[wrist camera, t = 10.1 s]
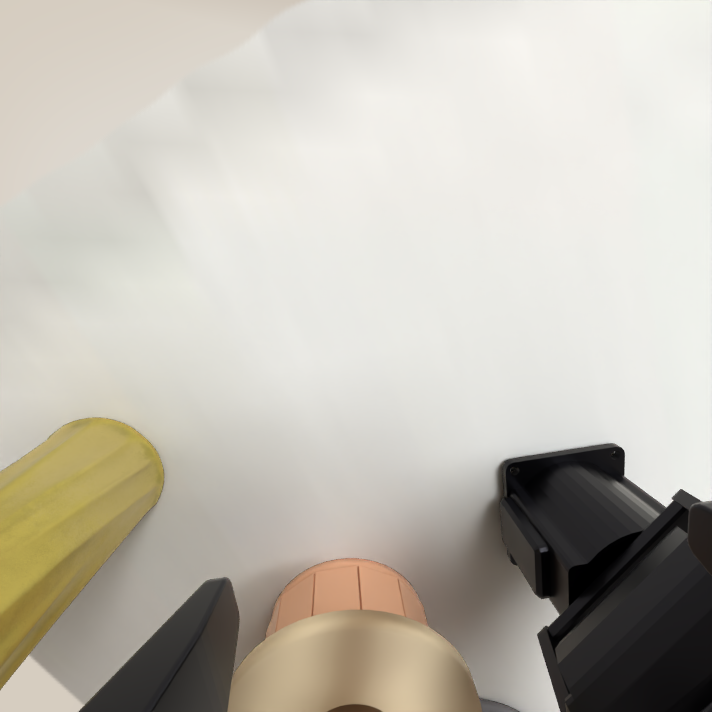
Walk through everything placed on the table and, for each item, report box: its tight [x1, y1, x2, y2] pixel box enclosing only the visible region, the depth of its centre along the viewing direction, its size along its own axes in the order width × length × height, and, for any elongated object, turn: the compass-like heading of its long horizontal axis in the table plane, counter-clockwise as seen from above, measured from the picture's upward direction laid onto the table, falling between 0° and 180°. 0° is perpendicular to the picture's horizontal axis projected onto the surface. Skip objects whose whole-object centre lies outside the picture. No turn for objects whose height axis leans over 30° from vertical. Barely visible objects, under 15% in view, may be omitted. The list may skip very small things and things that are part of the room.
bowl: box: [265, 558, 428, 639], centre depth 21 cm, size 9×9×5 cm
